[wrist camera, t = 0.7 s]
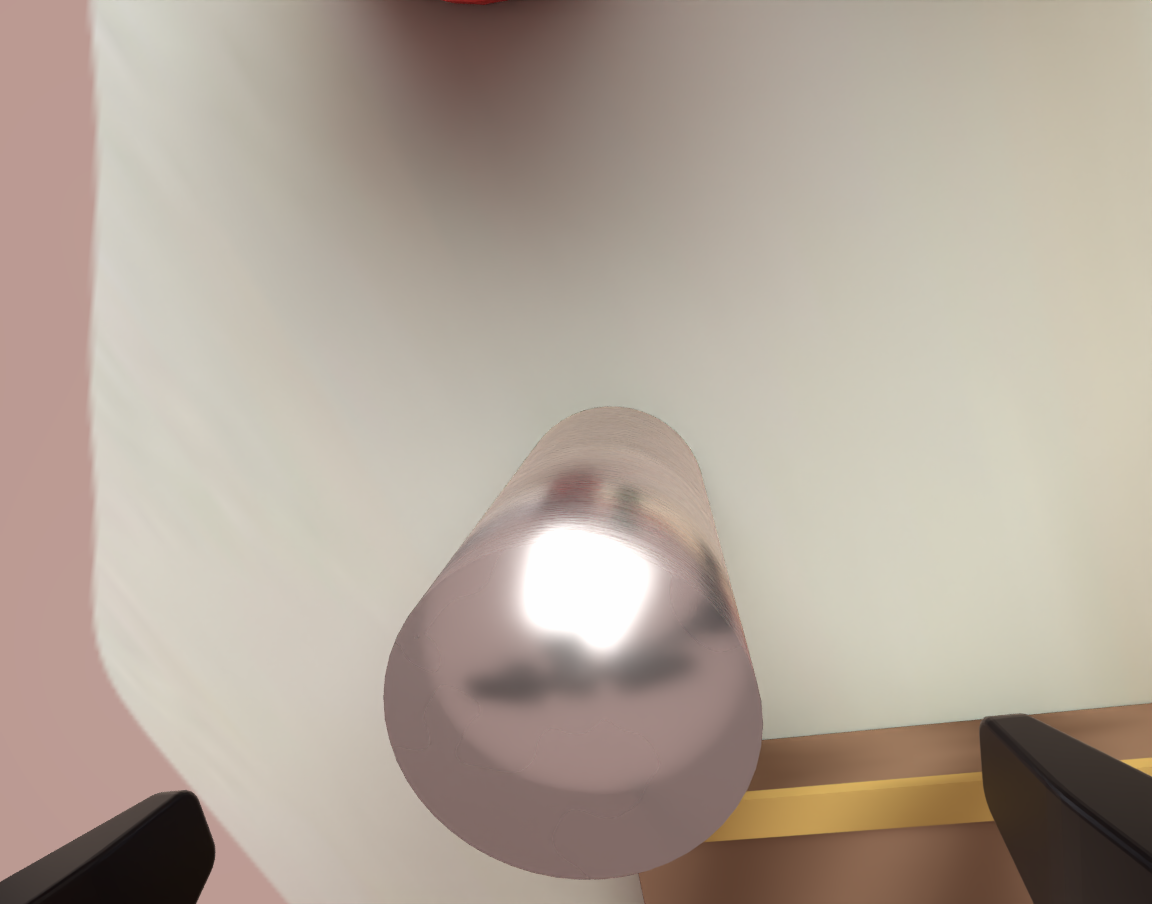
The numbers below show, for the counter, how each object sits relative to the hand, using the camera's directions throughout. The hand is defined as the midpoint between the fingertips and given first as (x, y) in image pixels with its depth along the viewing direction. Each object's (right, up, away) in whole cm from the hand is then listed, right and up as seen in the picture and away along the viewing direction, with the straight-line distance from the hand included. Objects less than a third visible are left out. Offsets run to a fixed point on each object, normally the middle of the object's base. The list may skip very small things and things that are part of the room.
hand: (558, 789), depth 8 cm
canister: (+1, +3, +11) cm, 11 cm away
